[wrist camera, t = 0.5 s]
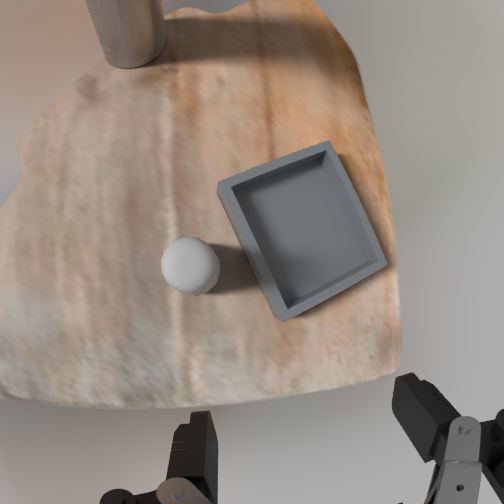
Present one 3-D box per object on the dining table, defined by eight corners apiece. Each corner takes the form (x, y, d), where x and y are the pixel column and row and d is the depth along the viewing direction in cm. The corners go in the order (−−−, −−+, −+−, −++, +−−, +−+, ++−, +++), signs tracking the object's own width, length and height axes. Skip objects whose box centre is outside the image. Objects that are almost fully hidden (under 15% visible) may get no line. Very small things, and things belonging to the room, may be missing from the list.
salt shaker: (165, 245, 36) (146, 228, 23) (215, 240, 37) (222, 219, 24) (171, 297, 35) (154, 307, 23) (221, 291, 36) (232, 298, 23)
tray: (216, 192, 37) (218, 182, 33) (318, 152, 39) (329, 140, 35) (274, 317, 37) (283, 322, 33) (371, 266, 39) (387, 264, 35)
